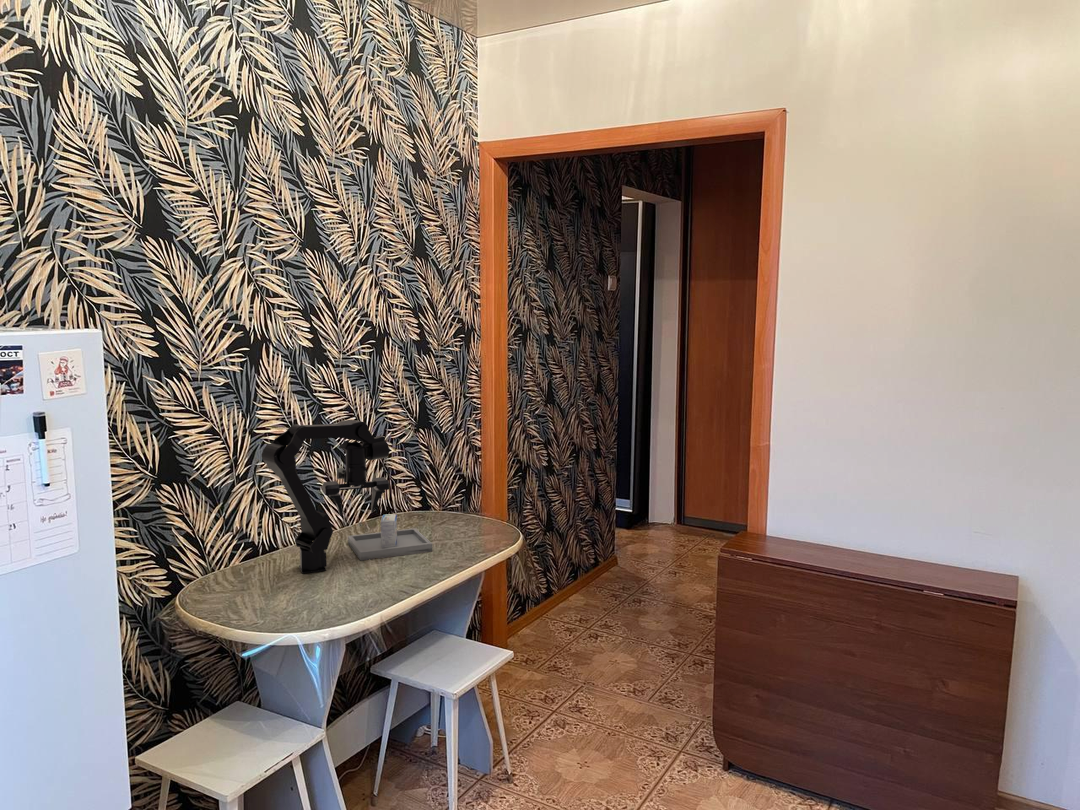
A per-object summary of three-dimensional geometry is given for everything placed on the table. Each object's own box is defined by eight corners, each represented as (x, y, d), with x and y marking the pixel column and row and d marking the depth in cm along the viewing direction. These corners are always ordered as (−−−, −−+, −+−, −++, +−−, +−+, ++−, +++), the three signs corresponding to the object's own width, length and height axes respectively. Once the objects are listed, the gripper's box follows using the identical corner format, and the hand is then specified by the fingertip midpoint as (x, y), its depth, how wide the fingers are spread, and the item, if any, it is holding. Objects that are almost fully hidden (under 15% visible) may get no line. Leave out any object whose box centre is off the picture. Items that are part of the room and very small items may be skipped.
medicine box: (395, 548, 230) (395, 520, 229) (380, 548, 229) (380, 521, 228) (397, 540, 238) (397, 513, 237) (382, 540, 237) (382, 514, 236)
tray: (360, 560, 221) (360, 552, 221) (347, 543, 237) (347, 535, 237) (432, 551, 231) (432, 543, 230) (415, 535, 247) (415, 528, 246)
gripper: (380, 455, 232) (381, 504, 234) (318, 460, 224) (319, 510, 226) (389, 462, 222) (390, 513, 224) (325, 467, 214) (326, 520, 216)
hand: (356, 514), depth 223 cm, fingers open, 9 cm apart
